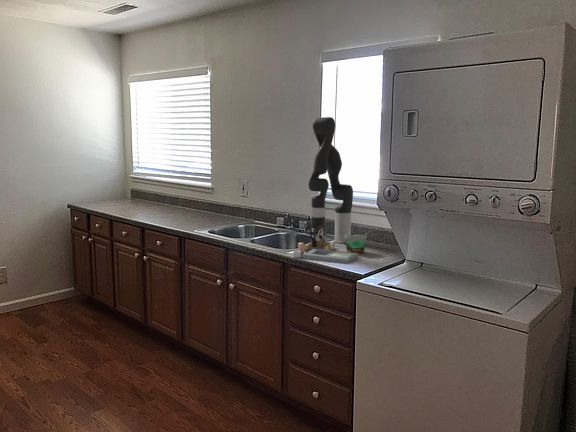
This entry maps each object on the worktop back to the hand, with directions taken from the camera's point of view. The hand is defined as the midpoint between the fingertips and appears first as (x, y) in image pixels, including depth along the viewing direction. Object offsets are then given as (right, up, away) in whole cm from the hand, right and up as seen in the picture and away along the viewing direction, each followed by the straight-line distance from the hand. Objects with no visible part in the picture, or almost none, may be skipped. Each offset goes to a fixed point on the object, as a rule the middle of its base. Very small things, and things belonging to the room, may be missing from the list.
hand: (317, 245), depth 274 cm
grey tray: (+6, -5, -16) cm, 17 cm away
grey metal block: (-11, -5, -14) cm, 19 cm away
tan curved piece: (+1, -2, +2) cm, 4 cm away
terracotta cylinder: (-9, -4, -9) cm, 13 cm away
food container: (+21, -4, -6) cm, 22 cm away
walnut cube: (0, -3, +1) cm, 3 cm away
